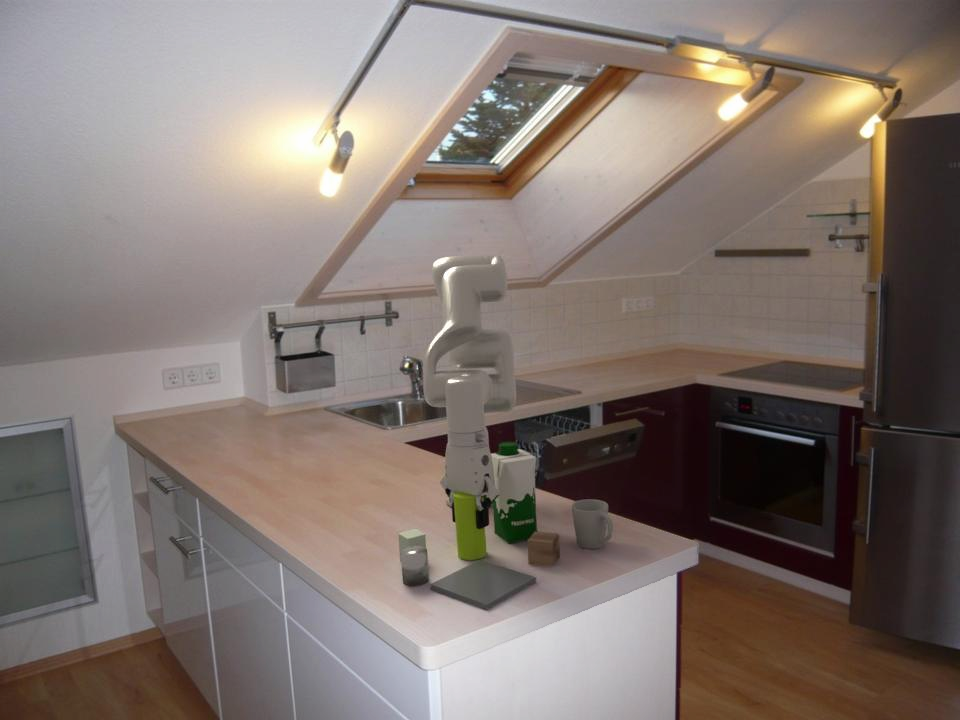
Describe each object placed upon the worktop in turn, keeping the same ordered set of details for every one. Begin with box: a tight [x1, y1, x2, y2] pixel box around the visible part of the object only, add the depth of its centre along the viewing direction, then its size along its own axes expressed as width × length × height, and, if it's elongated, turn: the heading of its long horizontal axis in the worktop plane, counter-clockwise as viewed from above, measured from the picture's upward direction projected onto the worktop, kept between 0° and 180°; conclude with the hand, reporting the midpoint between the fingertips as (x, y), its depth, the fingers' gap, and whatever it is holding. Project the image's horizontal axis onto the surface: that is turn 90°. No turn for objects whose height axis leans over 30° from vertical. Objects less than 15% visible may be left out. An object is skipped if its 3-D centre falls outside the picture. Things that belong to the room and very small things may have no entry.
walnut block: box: [526, 530, 561, 567], centre depth 160 cm, size 5×5×5 cm
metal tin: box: [401, 546, 430, 587], centre depth 153 cm, size 5×5×6 cm
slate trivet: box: [429, 559, 537, 611], centre depth 149 cm, size 14×14×1 cm
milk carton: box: [491, 441, 538, 544], centre depth 172 cm, size 9×9×20 cm
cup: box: [570, 498, 614, 550], centre depth 165 cm, size 8×10×8 cm
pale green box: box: [398, 528, 427, 563], centre depth 162 cm, size 4×4×6 cm
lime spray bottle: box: [453, 491, 487, 561], centre depth 163 cm, size 6×7×20 cm
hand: (470, 522), depth 164 cm, fingers closed on lime spray bottle, 5 cm apart
